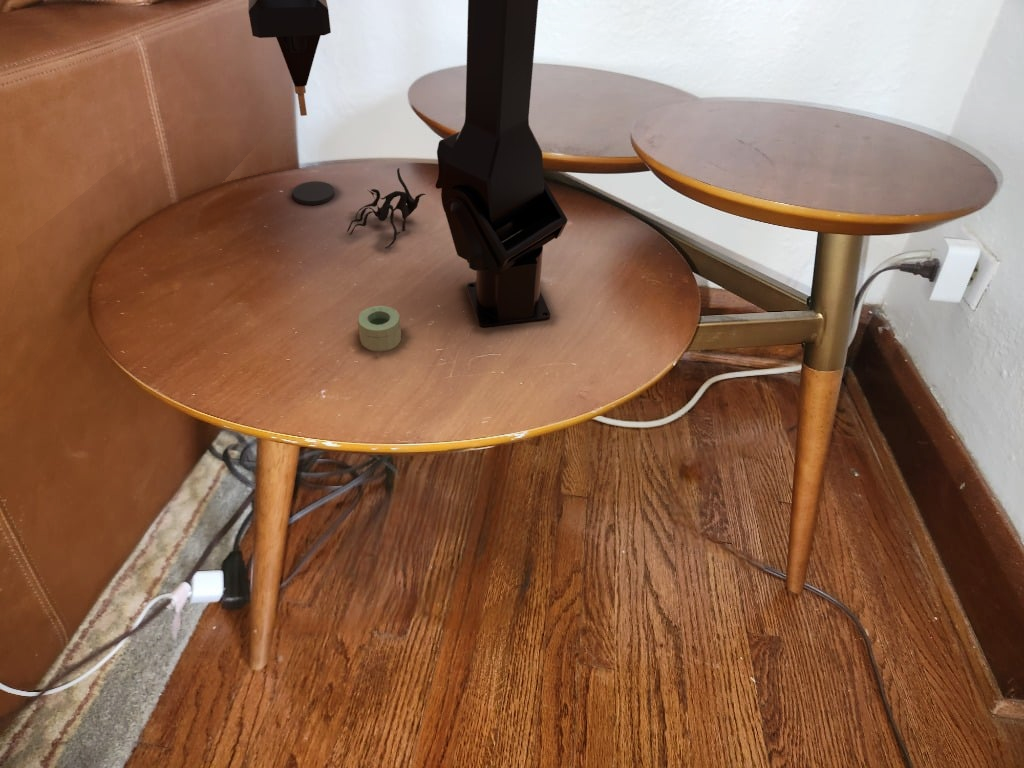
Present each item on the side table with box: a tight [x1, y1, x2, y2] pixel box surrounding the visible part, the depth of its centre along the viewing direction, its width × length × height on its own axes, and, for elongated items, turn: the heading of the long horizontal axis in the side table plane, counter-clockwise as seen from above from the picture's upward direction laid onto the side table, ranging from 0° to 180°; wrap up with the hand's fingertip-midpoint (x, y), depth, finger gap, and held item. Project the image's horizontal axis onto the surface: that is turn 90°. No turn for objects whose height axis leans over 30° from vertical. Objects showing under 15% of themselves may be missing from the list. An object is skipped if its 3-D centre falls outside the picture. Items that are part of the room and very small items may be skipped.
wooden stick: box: [293, 84, 308, 117], centre depth 73 cm, size 1×1×9 cm
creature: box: [346, 167, 427, 249], centre depth 78 cm, size 8×5×8 cm
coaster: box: [292, 180, 336, 206], centre depth 85 cm, size 4×4×1 cm
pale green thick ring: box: [357, 304, 402, 352], centre depth 66 cm, size 3×4×2 cm
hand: (300, 83), depth 74 cm, fingers closed on wooden stick, 1 cm apart
